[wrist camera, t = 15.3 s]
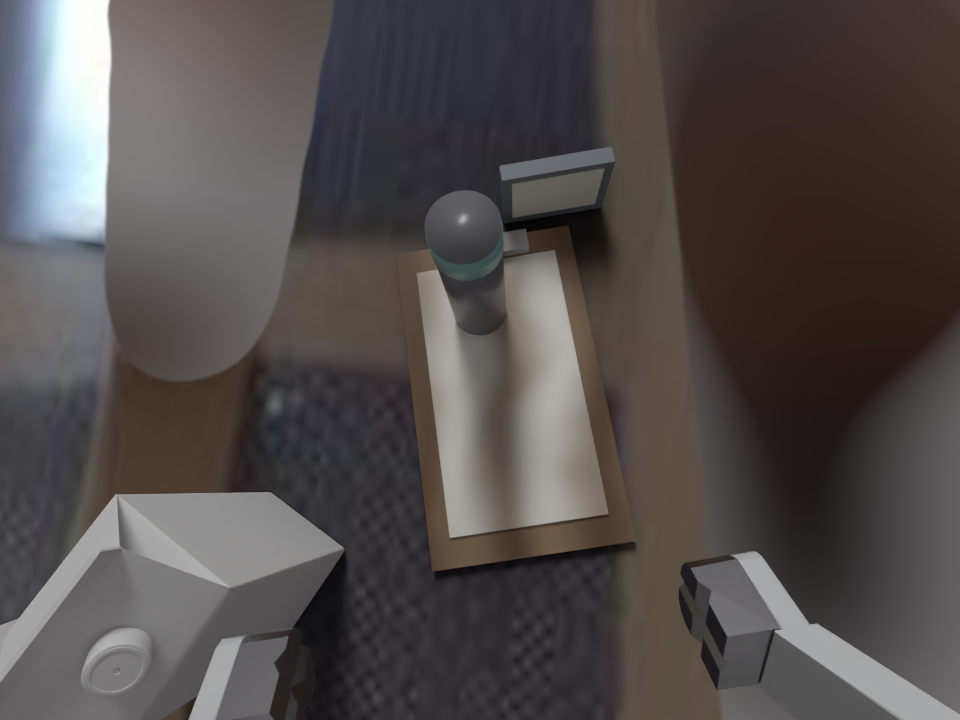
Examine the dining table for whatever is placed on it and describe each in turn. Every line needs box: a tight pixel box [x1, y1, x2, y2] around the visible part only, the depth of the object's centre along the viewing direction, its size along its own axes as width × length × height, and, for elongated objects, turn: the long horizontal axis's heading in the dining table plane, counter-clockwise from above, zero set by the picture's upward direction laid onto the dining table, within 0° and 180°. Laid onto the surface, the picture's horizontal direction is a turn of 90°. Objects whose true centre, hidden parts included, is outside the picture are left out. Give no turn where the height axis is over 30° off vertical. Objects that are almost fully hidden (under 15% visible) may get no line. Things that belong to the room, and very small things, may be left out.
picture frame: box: [499, 147, 615, 224], centre depth 38 cm, size 8×1×6 cm, turn 98°
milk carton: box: [0, 492, 344, 720], centre depth 27 cm, size 7×7×19 cm
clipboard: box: [396, 225, 636, 572], centre depth 37 cm, size 14×24×2 cm, turn 8°
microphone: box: [425, 190, 506, 335], centre depth 32 cm, size 4×4×13 cm
